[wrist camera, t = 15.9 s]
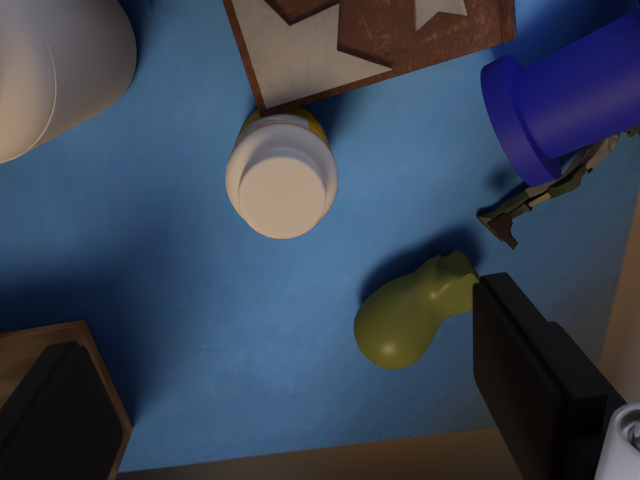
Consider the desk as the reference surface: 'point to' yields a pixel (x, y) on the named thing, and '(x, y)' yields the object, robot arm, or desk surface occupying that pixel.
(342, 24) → the book
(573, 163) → the zombie figurine
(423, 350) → the pear
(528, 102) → the mount
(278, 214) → the supplement bottle
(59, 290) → the desk surface
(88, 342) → the chest
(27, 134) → the pill bottle
